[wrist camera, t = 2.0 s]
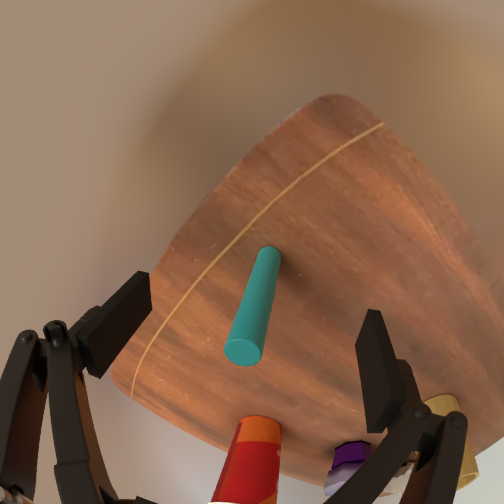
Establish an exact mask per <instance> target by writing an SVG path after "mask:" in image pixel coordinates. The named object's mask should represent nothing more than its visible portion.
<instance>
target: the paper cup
mask: <svg viewBox="0 0 504 504" xmlns="http://www.w3.org/2000/svg"><path fill="white" fill-rule="evenodd" d="M280 452H281V426H280V424H279V423H278V422H276V421H275V420H273V419H270V418H267V417H263V416H249V417H245V418H243V419H241V420H240V422H239V424H238V427H237V429H236V432H235V435H234V438H233V441H232V443H231V446H230V449H229V452H228V455H227V458H226V461H225V464H224V467H223V469H222V472H221V475H220V478H219V480H218V483H217V486H216V489H215V492H214V494H213V497H212V500H211V502H210V503H208V504H276V503H277V492H278V491H277V490H278V479H279V467H280Z"/></svg>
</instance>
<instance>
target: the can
mask: <svg viewBox="0 0 504 504" xmlns="http://www.w3.org/2000/svg"><path fill="white" fill-rule="evenodd" d="M423 403H425V404H426V405H428V406H429V407H430V409H431V411H432V413H434V414H437V415H441V416H446V415H447V414H448V413H449V412H451V411H459V412H461V411H460V408H459V405H458V402H457V400H456V398H455V396H453V395H450V394H444V395H439V396H436V397H433V398H431V399H429V400H427V401H425V402H423ZM415 453H416V457H417V454H418V452H416V451H415ZM478 476H479V472H478V467H477V463H476V460H475V456H474V452H473V449H472V445H471V442H470V438H469V435H468V432H467V436H466V443H465V449H464V455H463V461H462V466H461V471H460V476H459V480H458V485H457V489H456V491H457V490H459V489H461V488H463V487H465V486H466V485H468V484H470V483H471V482H472V481H474V480H475V479H476V478H477V477H478Z"/></svg>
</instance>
